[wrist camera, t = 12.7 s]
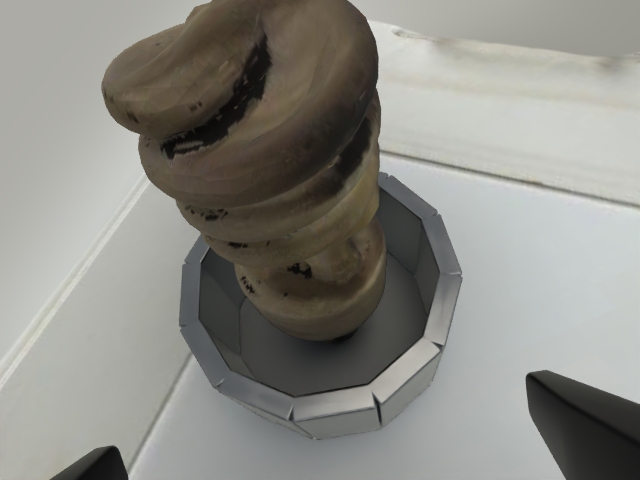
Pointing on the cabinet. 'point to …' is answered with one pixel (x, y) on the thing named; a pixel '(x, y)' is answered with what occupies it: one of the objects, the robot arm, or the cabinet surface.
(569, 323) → the cabinet surface
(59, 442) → the cabinet surface
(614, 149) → the cabinet surface
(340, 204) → the light bulb
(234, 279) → the faceted gray ring
